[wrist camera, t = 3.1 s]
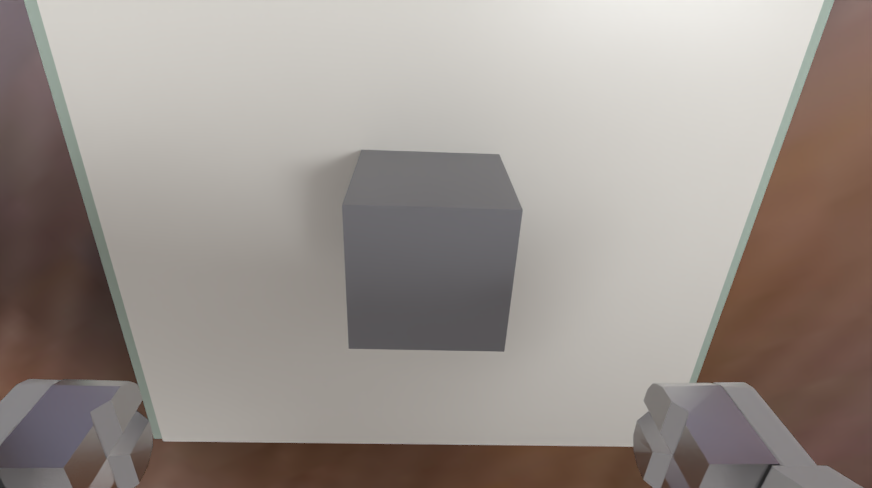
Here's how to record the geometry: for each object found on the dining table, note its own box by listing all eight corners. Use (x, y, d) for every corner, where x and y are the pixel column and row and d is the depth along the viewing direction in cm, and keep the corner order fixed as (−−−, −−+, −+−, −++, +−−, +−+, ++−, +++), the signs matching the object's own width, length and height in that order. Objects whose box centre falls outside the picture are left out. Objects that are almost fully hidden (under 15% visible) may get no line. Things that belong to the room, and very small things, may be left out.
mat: (895, -211, 13) (912, -217, 12) (668, 435, 23) (673, 444, 22) (-41, -269, 12) (-60, -279, 11) (159, 429, 22) (154, 438, 21)
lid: (853, -166, 13) (1089, -243, 8) (656, 427, 22) (716, 543, 17) (3, -217, 12) (-250, -333, 7) (174, 421, 21) (107, 541, 17)
